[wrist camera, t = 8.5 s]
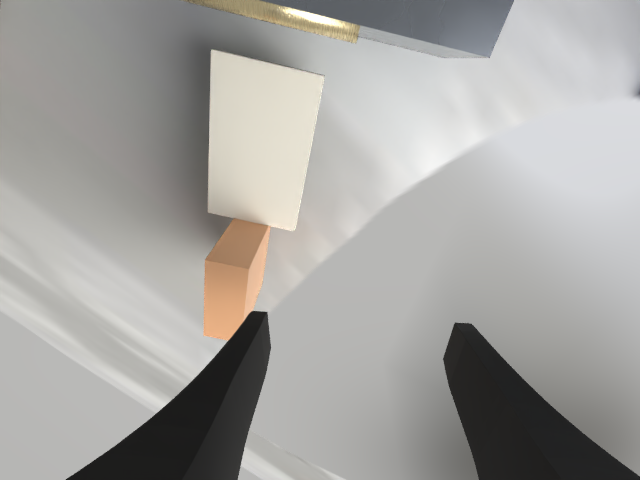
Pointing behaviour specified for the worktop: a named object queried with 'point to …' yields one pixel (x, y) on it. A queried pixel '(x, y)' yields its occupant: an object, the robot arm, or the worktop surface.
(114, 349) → the worktop surface
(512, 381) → the robot arm
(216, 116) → the two-tone stacked block
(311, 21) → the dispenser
